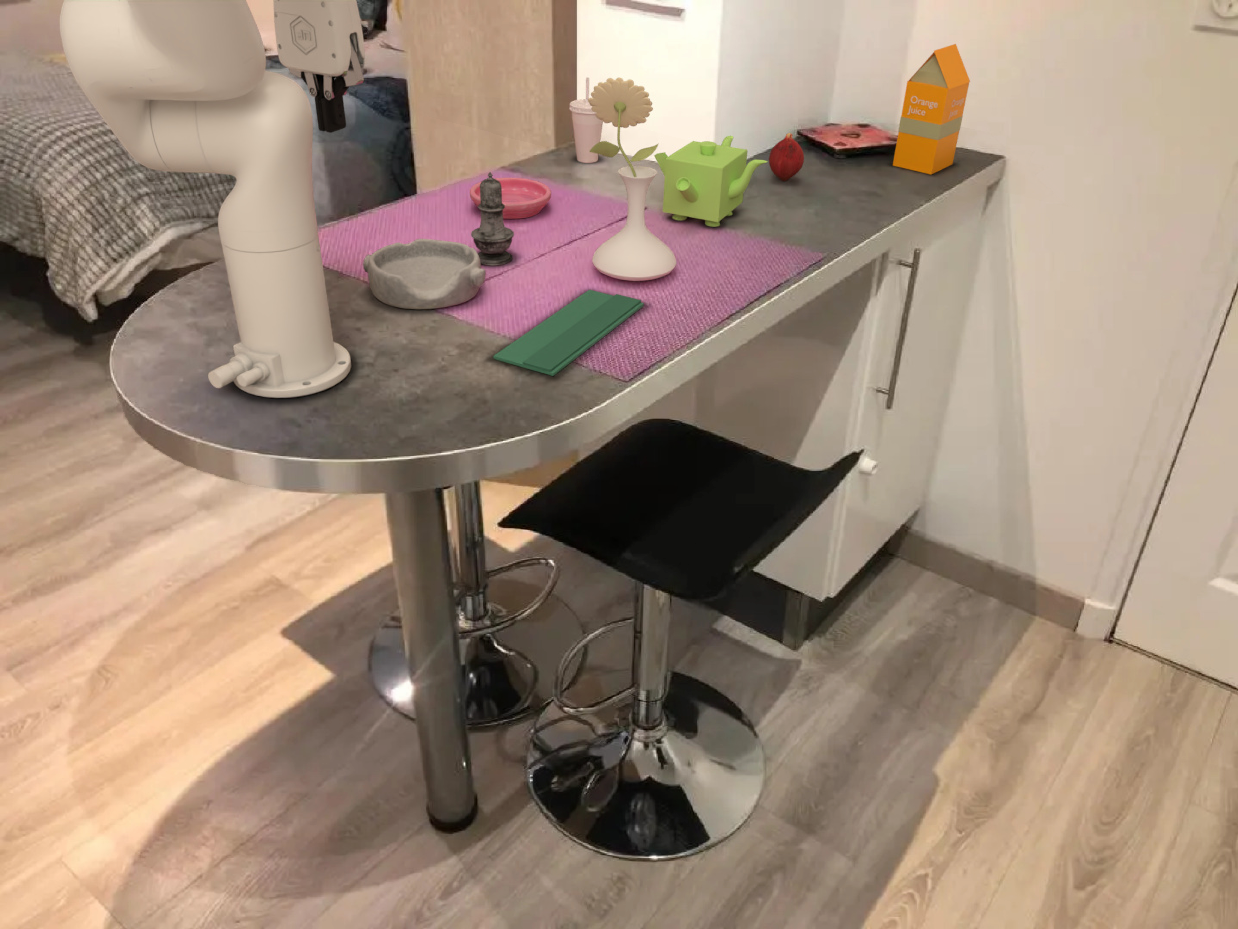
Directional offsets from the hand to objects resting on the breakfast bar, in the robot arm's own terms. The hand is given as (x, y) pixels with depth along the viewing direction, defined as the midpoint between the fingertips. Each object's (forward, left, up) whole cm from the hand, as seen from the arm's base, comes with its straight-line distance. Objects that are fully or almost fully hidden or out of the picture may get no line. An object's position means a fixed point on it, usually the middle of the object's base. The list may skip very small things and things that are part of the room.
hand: (332, 128), depth 126 cm
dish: (0, -13, -19) cm, 23 cm away
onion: (+69, -36, -19) cm, 80 cm away
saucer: (+32, -5, -19) cm, 37 cm away
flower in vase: (+20, -32, -19) cm, 42 cm away
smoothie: (+61, -2, -19) cm, 64 cm away
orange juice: (+92, -54, -19) cm, 108 cm away
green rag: (0, -35, -19) cm, 39 cm away
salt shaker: (+14, -14, -19) cm, 27 cm away
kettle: (+46, -32, -19) cm, 59 cm away
